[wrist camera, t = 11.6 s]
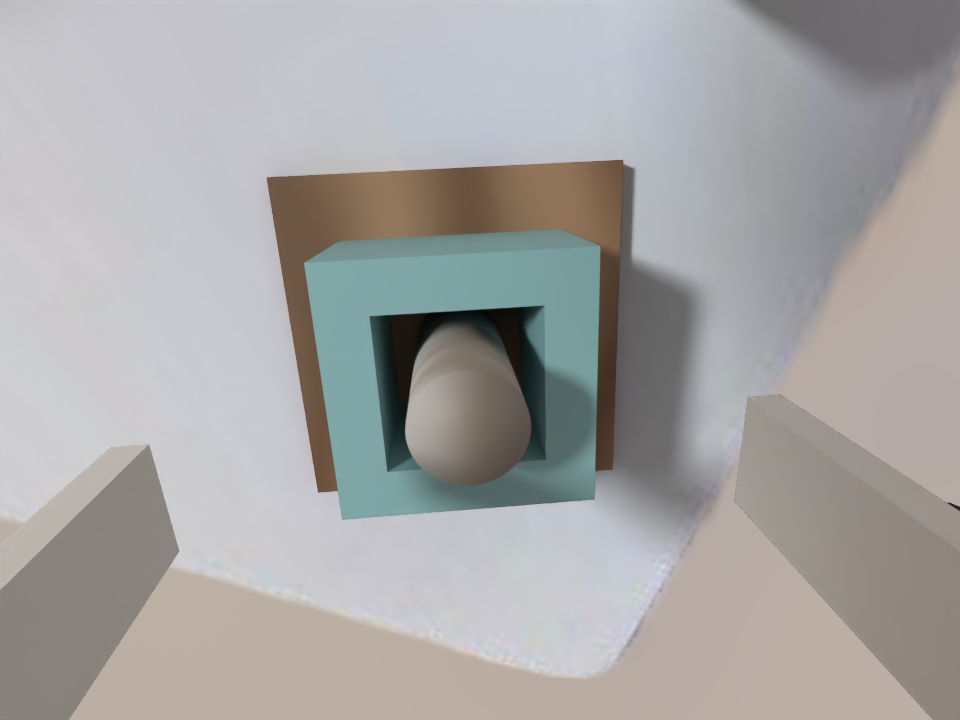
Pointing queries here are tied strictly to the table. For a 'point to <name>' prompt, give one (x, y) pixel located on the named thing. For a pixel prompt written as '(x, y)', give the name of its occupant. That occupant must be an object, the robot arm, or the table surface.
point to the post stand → (452, 334)
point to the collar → (455, 287)
